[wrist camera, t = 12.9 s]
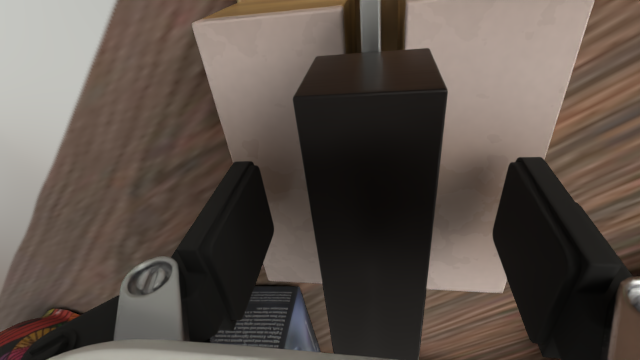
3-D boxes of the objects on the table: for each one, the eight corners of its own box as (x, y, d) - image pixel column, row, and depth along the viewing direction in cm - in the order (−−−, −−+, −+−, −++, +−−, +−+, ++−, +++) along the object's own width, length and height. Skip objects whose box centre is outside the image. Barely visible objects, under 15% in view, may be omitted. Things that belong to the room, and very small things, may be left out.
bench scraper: (342, -26, 12) (280, 30, 5) (409, -34, 12) (457, 14, 4) (357, 219, 19) (341, 402, 12) (400, 220, 19) (413, 411, 11)
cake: (238, -33, 14) (159, -17, 9) (537, -71, 12) (647, -77, 7) (289, 212, 21) (262, 294, 16) (478, 215, 19) (511, 309, 14)
